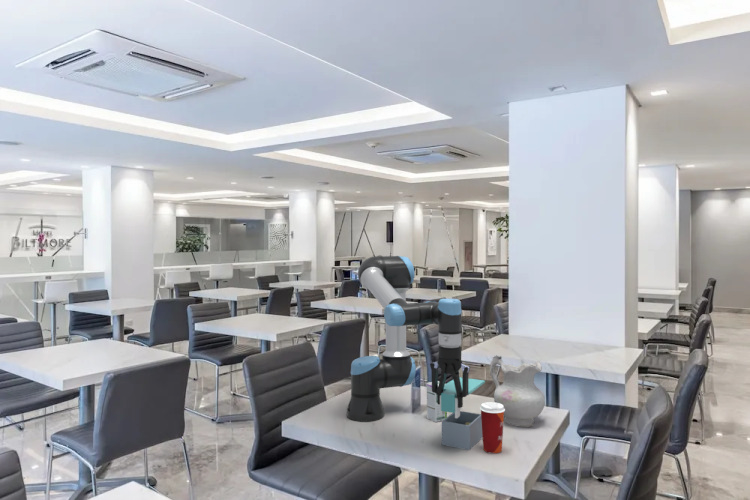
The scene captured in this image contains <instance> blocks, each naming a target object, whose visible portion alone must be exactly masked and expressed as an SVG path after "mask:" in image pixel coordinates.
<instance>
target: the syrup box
mask: <svg viewBox="0 0 750 500" xmlns="http://www.w3.org/2000/svg"><path fill="white" fill-rule="evenodd" d="M439 381H440V380H438V386H439ZM445 384H447V383H446V382H445ZM443 392H444V391H443ZM447 417H448V412H445V414H444V415H442V416H441V415H440V405H439V404H438V403H437V394H436V393H433V392H432V381H431V382H430V381H429V382H426V418H427V420H430V421H432V422H434V423H438V422H442V421H443V420H444V419H445V418H447Z"/></svg>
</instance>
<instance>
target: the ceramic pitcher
mask: <svg viewBox="0 0 750 500" xmlns="http://www.w3.org/2000/svg"><path fill="white" fill-rule="evenodd" d="M502 358H503V356H502V355H493V357H492V359H491V361H490V367H489V368H490V369H489V371H490V375H491V379H492V381H493V383H494V385H495V391H494V395H493V400H494V401H493V402H496V403H500V404H502V405H503V406H504V409H505V411H504V419H503V423H505V424H506V425H512V426H517V427H521V428H531V427H534V424H535V421H534V419H535V418H536V419H537V417H539V416H540V415H541V413H542V412H543V410H544V409H545V405H546V404H545V403H546V402H545V401H546V400H545V399H546V398H545V395H544V394H545V393H544V392H543V391H542V390H541V389H540V388H539V387H537V385H536V384H535V375H536V374H537V373H541V372H542V369H543V366H542V364H541V363H540V361H535V362H533V363H532V362H531V363H527V362H524V363H522V364H520V365H518V366H515V365H513V364H505V363H504V361H503V360H502ZM497 365H499V366H500V367H501V370H502V373H503V374H502V375H503V380H504V381H503V382H502V384H500V381H499V377H498V375H497V374H496V366H497Z"/></svg>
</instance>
